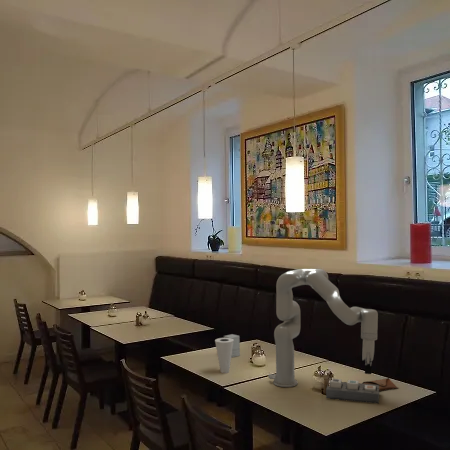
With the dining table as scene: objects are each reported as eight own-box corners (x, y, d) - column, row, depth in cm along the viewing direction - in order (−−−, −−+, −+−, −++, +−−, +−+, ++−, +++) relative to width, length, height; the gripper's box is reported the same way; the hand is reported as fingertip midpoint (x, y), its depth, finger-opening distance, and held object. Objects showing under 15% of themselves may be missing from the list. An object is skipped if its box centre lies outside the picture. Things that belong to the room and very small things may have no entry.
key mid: (347, 391, 241) (347, 382, 241) (348, 388, 246) (347, 379, 246) (357, 392, 240) (357, 383, 240) (358, 388, 245) (358, 380, 244)
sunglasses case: (371, 393, 246) (367, 379, 249) (363, 396, 252) (359, 383, 255) (400, 388, 253) (395, 375, 256) (392, 391, 259) (387, 378, 262)
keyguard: (326, 398, 240) (326, 389, 240) (329, 389, 253) (329, 380, 253) (378, 403, 233) (378, 393, 233) (379, 394, 245) (379, 384, 245)
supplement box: (232, 353, 324) (232, 333, 323) (240, 355, 318) (239, 335, 318) (223, 355, 319) (223, 335, 319) (231, 358, 313) (230, 337, 313)
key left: (330, 389, 244) (330, 381, 244) (331, 386, 249) (331, 378, 248) (340, 390, 242) (340, 382, 242) (341, 387, 247) (341, 379, 247)
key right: (364, 396, 239) (364, 388, 239) (365, 393, 244) (364, 384, 244) (375, 397, 237) (375, 388, 237) (375, 394, 242) (375, 385, 242)
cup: (234, 369, 290) (234, 337, 290) (233, 374, 279) (232, 342, 279) (216, 368, 291) (216, 337, 291) (214, 374, 280) (213, 342, 280)
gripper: (361, 331, 248) (360, 368, 249) (360, 338, 234) (359, 377, 235) (377, 332, 246) (376, 369, 247) (376, 340, 232) (376, 379, 232)
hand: (368, 373), depth 241 cm, fingers closed
